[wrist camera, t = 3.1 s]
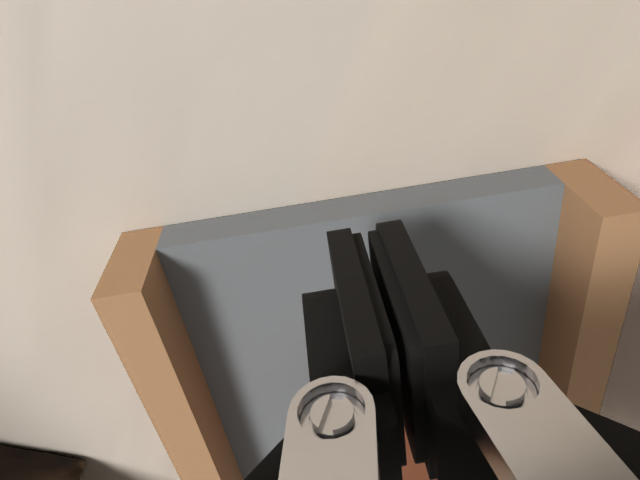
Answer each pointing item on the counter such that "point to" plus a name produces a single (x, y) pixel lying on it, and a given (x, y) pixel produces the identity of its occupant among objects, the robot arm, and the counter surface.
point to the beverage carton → (37, 465)
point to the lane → (316, 275)
